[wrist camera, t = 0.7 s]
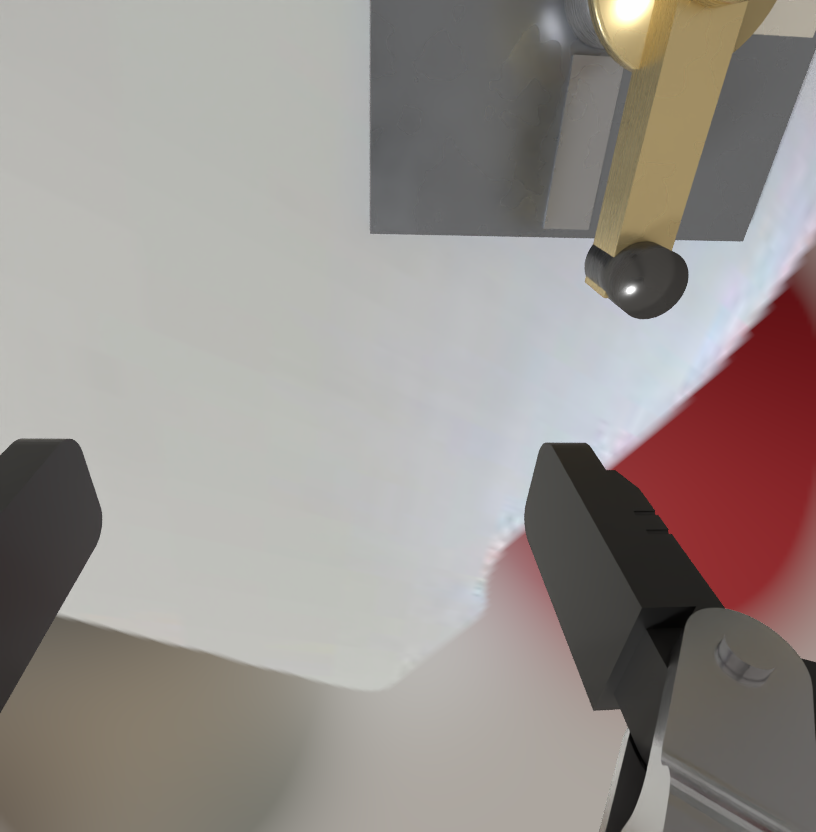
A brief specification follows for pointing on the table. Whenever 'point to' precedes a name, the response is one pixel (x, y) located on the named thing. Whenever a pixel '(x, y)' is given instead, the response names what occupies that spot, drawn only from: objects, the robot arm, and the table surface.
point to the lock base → (550, 119)
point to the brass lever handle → (659, 137)
